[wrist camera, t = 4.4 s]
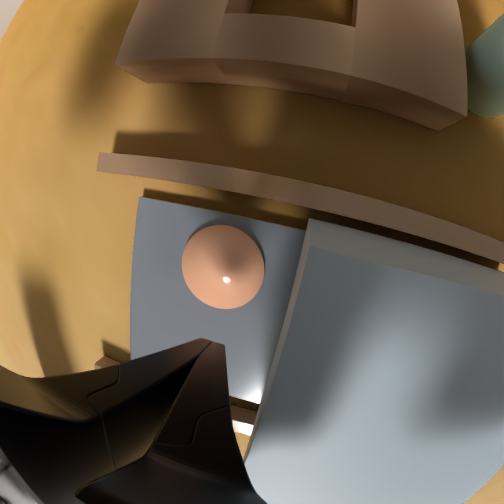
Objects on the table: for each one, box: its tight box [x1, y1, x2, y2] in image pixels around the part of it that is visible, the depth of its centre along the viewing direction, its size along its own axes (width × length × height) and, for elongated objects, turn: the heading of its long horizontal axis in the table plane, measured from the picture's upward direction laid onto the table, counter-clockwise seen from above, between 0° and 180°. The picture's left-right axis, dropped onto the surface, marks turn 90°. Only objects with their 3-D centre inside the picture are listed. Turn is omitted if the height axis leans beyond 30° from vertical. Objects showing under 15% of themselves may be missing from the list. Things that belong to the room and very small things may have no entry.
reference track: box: [94, 153, 504, 435], centre depth 10 cm, size 20×11×1 cm, turn 79°
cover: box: [243, 218, 504, 504], centre depth 7 cm, size 9×9×6 cm
